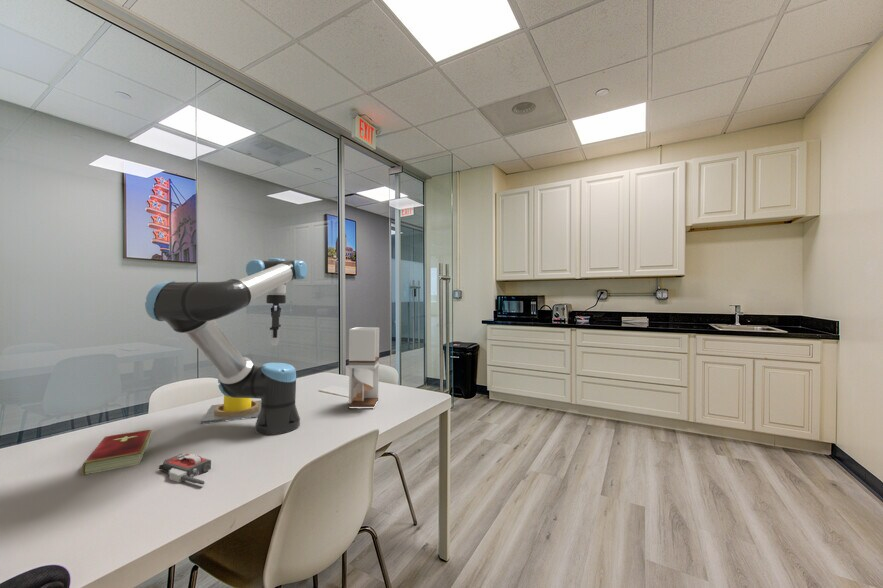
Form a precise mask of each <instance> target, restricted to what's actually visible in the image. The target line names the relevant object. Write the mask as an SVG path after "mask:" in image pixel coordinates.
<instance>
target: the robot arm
mask: <svg viewBox="0 0 883 588" xmlns="http://www.w3.org/2000/svg"><path fill="white" fill-rule="evenodd" d="M245 273H246V274H247V276H245V277H243V278H240V279H238V278H231V279H228V280H224V281H175V280H171V281H162V282H159V283H156V284H155V285H153V287H151V289H150V290H149V291H148V292H147V295H146V297H145V303H144V308H145V311H146V313H147V315H148V317H150V318H151V319H153V320H155V321H157V322H165V323H167V325H168V326H169V327H170V328H171V329H172V330H173V331H174V332H175V333H179V334H185V336H187V338H189V340H190V342H192V344H194V346H195V347H196V348H197V349H198V350H199V351H200V352H201V354H203V356H204V358H206V359H207V360H208V361H209V362H210V363H211V365H212V366H213V367H214V368H215V369H216V370H217V371H218V372H219V374H218V379H217V383H218V389H219V391H220V393H222V395H223V396H224V395H226V396H229V397H233V398H251V399H258V400H259V399H260V400H261V410H260V413H259V416H258V417H257V419H256V422H255V425H254V427H255V428H254V431H255V432H256V433H257V434H260V435H265V436H266V435H271V436H273V435H279V434H285V433H289V432H292V431H294V430H296V429H298V428H299V427H300V425H301V417H300V414H299V411H298V409H297V405H296V397H297V396H296V395H297V393H296V392H297V390H296V389H297V372H296V368H295V367H294V365H292V364H289V363H284V362H267V363H263V365H262V366H257V365H255V364H254V362H253V361H252V360H251V359H250V358H249V357H247V356H243V355H242V354H241V352H240V351H239V350H238V349H237V348H236V346H235V345H234V344H233V343H232V342H231V340H230V339H229V337H228V336H227V335H226V333H225V332H224V331H223V330H222V328H221V327H220V325H219V324H218V323H217V321H216V320H218V319H222V318H225V317H227V316H229V315H232V314H233V313H236V312H238V311H240V310H243V309H245V308H247V306H249V305H250V304H251V301H252V300H255V299H256V298H259V297H261V296H264V294H266V297H265V298H266V301H265V302H266V304H272V306H271V307H270V313H271V314H270V315H271V326H270V327H269V331H271V335H270V337H271V338H270V346H272V347H273V346H276V347H277V346H279V342H280V328H281V326H282V324H280V317H281V312H282V308H281V307H280V304H281V305H282V304H286V300H287V299H286V297H287V296H286V295H285V294H287V283H289V282H291V281H293V280H297V281H299V280H305V278H306V277H308V276H307V275H308V265H307V263H306V262H305V261H303V260H297V259H295V260H285V259H284V258H277V257H270V258H267V260H261V259H252V260H249V261H248V262H247V264H246V265H245Z"/></svg>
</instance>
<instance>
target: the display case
mask: <svg viewBox="0 0 883 588" xmlns="http://www.w3.org/2000/svg"><path fill="white" fill-rule="evenodd" d="M348 330H349V331H348V332H349V333H348V334H349V336H348V338H349V339H348V341H349V342H348V369H349V371H348V373H349V374H348V378H349V379H348V382H349V383H348V403H347V408H348V407H374V406H375V404H376V402H377V401H378V402H379V378H380V375H379V374H380V373H379V371H380V368H379V366H380V363H379V362H380V327H353V328H349V329H348Z"/></svg>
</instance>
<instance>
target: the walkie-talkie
mask: <svg viewBox="0 0 883 588" xmlns="http://www.w3.org/2000/svg"><path fill="white" fill-rule="evenodd" d="M158 469H159V470H161V471H162V472H163V473H166V474H168V476H169V480H170V481H174V482H176V483H181V482H189V483H192V484H199V485H205V483H206V482H205V481H204V480H202V479H198V478H196V477H197V476H198V475H200V474H202V473H205V472H206V473H207V472H208V471H210V470H211V469H212V460H211V459H208V458H204V457H202V456H201V455H197V454H194V453H190V454H188V453H180V454H178V455H174V456H172V457H170V458H167V459H165V460H163V463H162V464H160V465H159V466H158Z"/></svg>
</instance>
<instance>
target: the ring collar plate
mask: <svg viewBox="0 0 883 588" xmlns="http://www.w3.org/2000/svg"><path fill="white" fill-rule="evenodd" d="M260 410H261V399H260V400H251V408H248V409H243V410H237V411H224V403H220V404H212V405H211V406H210V407H209V408H208V410H207V412H206V413H205V414H204V416H203V418H202V419H201V420H200V424H201V425H203V423H205V424H211V423H210V422H214V423H219V422H218V421H222V422H227V421H226V420H231V421H235V420H234V419H240V420H243V419H242V418H249V419H251V418H250V417H257V418H258V416H259V413H260Z"/></svg>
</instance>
